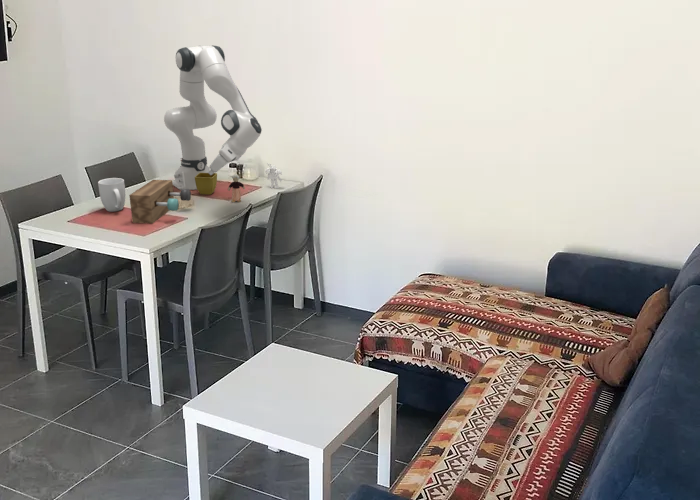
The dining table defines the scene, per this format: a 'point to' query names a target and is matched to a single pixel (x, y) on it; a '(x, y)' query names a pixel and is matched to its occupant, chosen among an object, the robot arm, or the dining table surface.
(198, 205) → the dining table surface
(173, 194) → the knob black
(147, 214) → the walnut mount
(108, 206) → the mug
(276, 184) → the flower shoulder figurine
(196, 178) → the flower pot
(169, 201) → the knob teal
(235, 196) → the grandmother figurine
